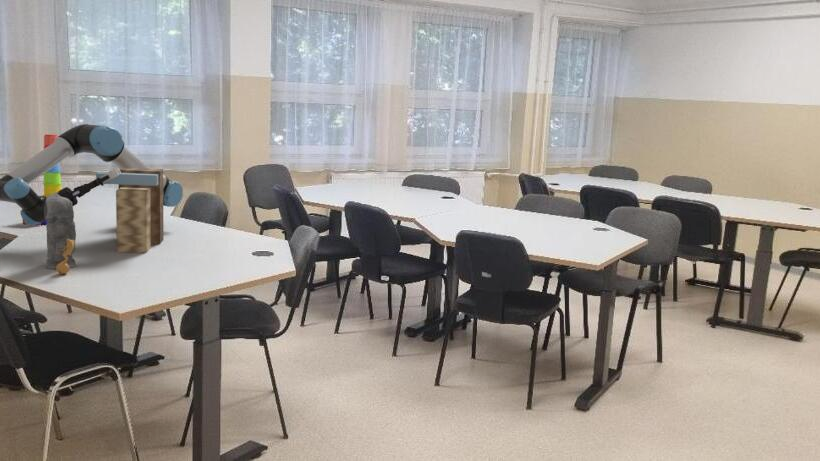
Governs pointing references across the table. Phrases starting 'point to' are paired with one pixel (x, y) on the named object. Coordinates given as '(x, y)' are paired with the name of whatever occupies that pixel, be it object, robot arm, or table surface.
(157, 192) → the tower
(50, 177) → the stacking cups
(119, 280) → the table surface
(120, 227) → the tan tall block
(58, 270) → the figurine
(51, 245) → the figurine
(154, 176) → the beam
